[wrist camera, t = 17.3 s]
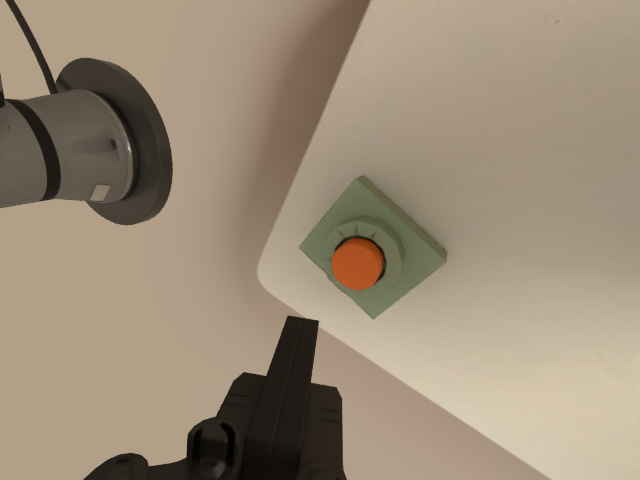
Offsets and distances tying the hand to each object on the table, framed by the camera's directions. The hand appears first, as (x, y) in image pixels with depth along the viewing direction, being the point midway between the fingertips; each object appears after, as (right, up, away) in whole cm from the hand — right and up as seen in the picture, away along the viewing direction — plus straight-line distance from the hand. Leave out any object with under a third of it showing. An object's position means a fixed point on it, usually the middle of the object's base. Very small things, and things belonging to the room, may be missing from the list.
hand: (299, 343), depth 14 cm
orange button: (+4, +3, +11) cm, 12 cm away
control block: (+6, +4, +14) cm, 16 cm away
